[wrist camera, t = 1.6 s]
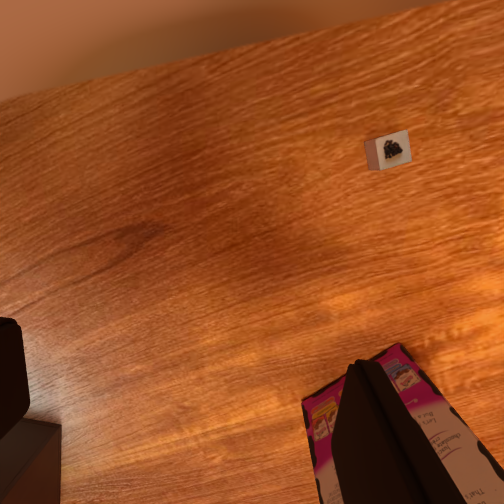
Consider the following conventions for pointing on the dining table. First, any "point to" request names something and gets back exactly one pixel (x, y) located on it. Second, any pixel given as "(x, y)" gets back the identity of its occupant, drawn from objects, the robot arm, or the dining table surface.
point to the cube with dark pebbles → (388, 151)
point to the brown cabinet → (30, 463)
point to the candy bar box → (430, 420)
